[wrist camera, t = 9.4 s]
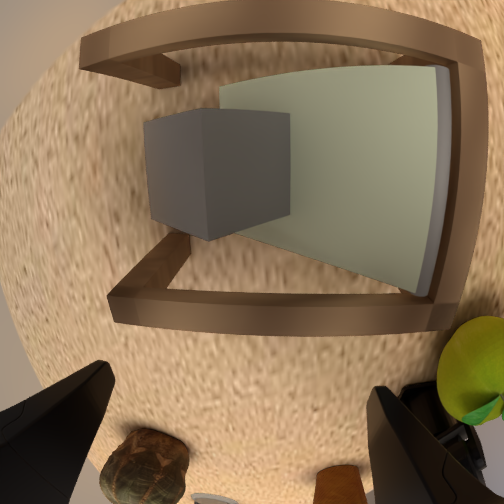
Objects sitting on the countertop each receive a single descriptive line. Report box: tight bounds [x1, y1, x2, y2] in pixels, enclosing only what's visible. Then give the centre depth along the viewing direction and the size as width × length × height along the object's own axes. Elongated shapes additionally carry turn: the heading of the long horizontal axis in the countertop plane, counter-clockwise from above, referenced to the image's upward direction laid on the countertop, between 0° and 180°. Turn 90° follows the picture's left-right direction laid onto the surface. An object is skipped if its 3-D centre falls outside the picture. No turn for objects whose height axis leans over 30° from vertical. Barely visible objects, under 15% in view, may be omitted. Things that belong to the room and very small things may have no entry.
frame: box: [79, 0, 488, 337], centre depth 13 cm, size 16×13×8 cm
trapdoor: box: [219, 65, 452, 297], centre depth 13 cm, size 12×9×1 cm
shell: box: [99, 429, 189, 504], centre depth 27 cm, size 11×11×12 cm
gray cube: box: [143, 108, 291, 241], centre depth 13 cm, size 5×5×5 cm
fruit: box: [437, 316, 504, 426], centre depth 16 cm, size 9×9×10 cm
